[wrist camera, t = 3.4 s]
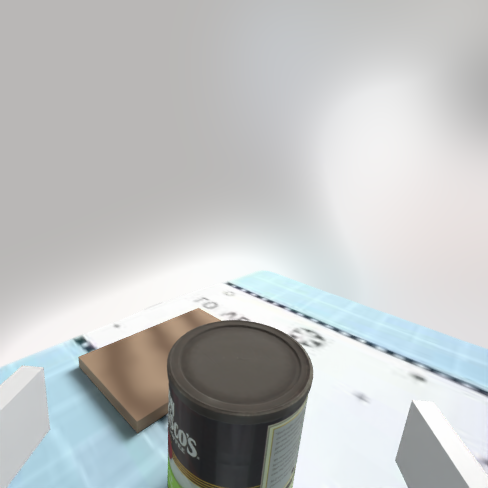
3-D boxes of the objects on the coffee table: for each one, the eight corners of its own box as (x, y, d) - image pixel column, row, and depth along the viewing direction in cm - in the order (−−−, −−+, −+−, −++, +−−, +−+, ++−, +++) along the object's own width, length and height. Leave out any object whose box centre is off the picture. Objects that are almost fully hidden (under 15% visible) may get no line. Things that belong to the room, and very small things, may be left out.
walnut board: (198, 315, 55) (198, 308, 55) (260, 351, 46) (260, 342, 46) (79, 366, 40) (78, 356, 40) (137, 433, 32) (137, 421, 31)
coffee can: (176, 607, 20) (180, 433, 16) (159, 460, 29) (159, 327, 25) (314, 547, 24) (345, 393, 20) (260, 434, 33) (274, 313, 29)
